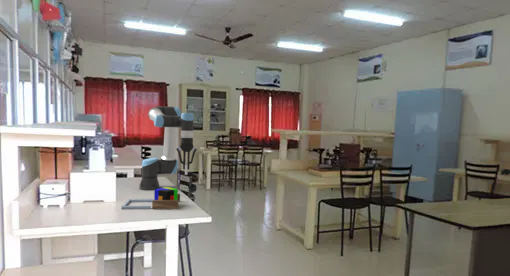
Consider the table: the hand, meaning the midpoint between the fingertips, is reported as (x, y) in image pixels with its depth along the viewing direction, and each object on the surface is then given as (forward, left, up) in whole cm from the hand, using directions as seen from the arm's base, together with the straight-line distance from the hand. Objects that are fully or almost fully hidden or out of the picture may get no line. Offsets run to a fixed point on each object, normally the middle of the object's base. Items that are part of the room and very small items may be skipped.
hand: (186, 174), depth 205 cm
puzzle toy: (0, -12, -20) cm, 23 cm away
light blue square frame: (0, -28, -20) cm, 34 cm away
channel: (0, -12, -20) cm, 23 cm away
